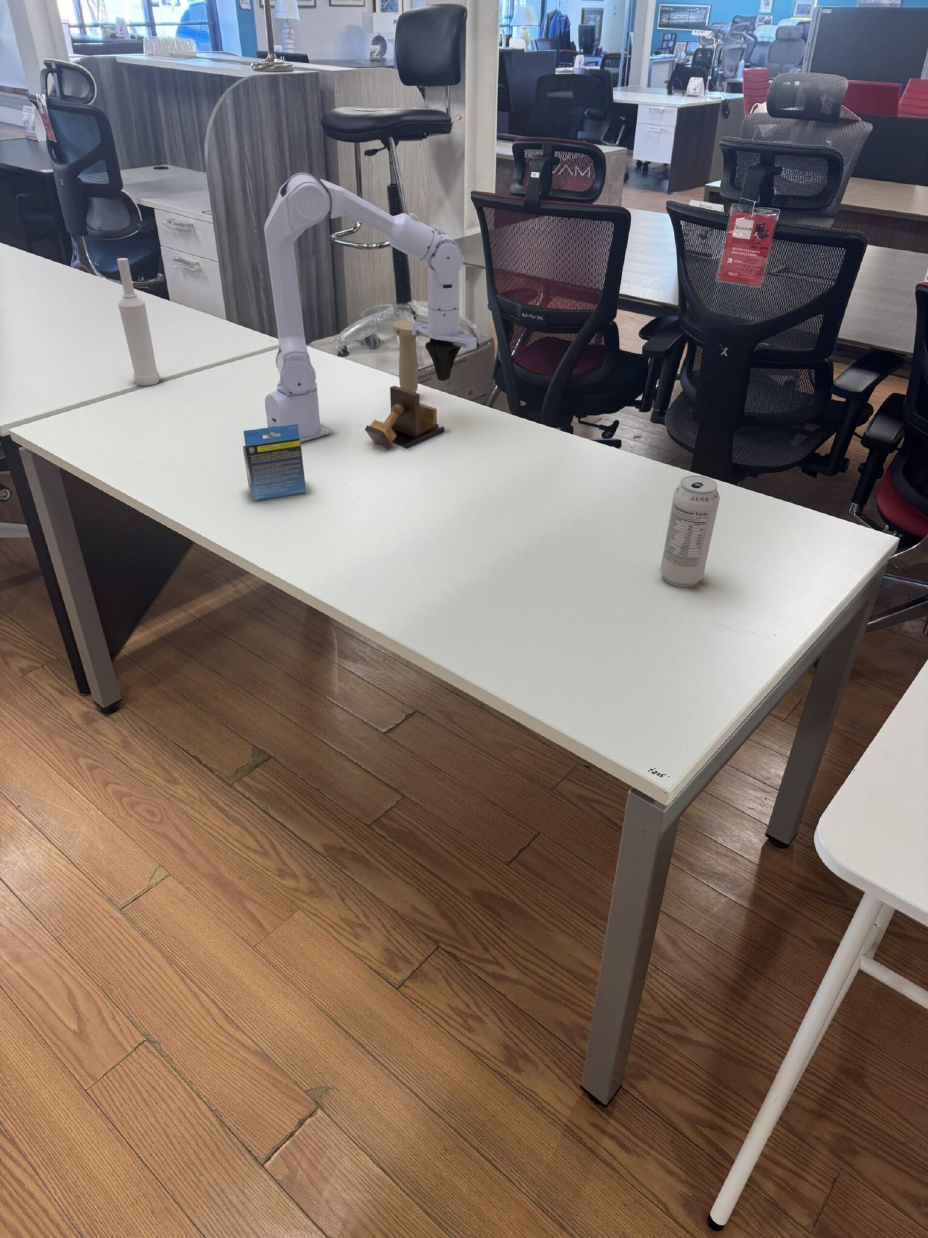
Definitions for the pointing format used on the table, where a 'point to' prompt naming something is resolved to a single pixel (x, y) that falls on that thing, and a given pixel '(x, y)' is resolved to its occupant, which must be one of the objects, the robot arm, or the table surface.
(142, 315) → the bottle
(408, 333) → the handle
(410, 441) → the track
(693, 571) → the energy drink can
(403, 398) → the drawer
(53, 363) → the table surface
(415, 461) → the table surface
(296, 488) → the blue product box
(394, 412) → the stamp
